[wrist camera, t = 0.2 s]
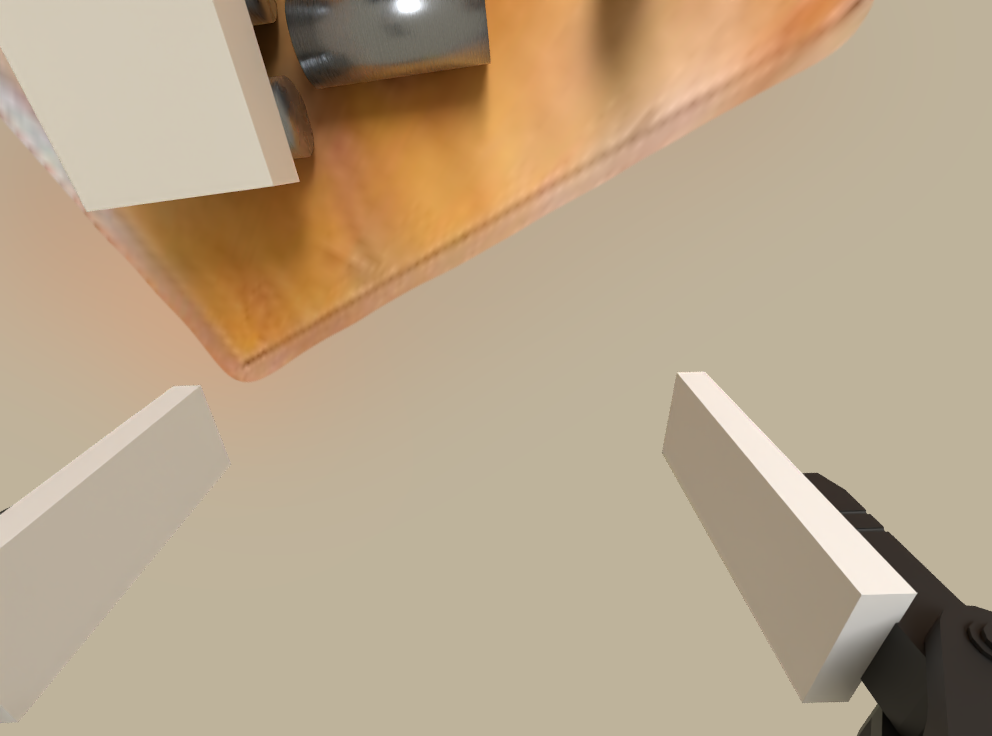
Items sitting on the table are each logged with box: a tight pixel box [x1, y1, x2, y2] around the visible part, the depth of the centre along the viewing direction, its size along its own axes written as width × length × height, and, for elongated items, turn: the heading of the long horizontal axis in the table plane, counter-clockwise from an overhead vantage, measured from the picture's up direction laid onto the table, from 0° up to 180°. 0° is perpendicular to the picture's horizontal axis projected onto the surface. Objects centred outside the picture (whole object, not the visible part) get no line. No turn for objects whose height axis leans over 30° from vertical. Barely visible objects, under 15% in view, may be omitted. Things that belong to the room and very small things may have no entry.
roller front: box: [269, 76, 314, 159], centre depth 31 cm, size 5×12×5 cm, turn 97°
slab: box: [0, 0, 300, 212], centre depth 25 cm, size 16×12×4 cm
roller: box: [285, 0, 491, 89], centre depth 28 cm, size 5×12×5 cm, turn 97°
